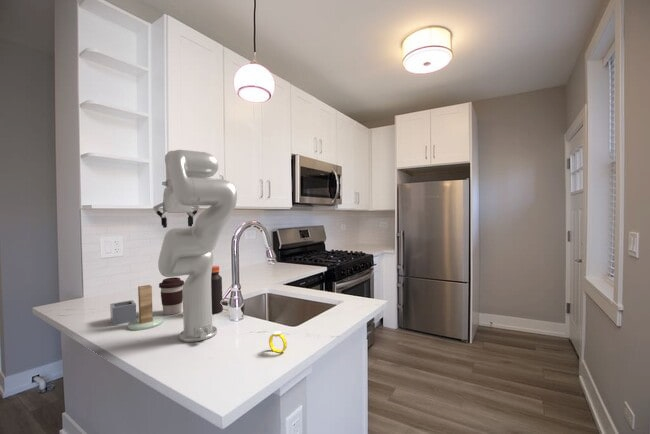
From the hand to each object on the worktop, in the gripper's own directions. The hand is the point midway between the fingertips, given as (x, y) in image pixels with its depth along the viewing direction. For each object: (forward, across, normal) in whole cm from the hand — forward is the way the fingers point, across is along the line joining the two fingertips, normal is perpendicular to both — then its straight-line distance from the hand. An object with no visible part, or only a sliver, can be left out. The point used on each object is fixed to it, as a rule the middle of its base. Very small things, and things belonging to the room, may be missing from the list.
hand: (177, 226), depth 125 cm
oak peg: (+37, -12, +4) cm, 39 cm away
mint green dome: (+38, -12, +4) cm, 40 cm away
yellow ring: (+39, +14, -53) cm, 67 cm away
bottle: (+38, +14, 0) cm, 41 cm away
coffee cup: (+38, 0, +13) cm, 41 cm away
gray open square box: (+38, -18, +16) cm, 45 cm away
